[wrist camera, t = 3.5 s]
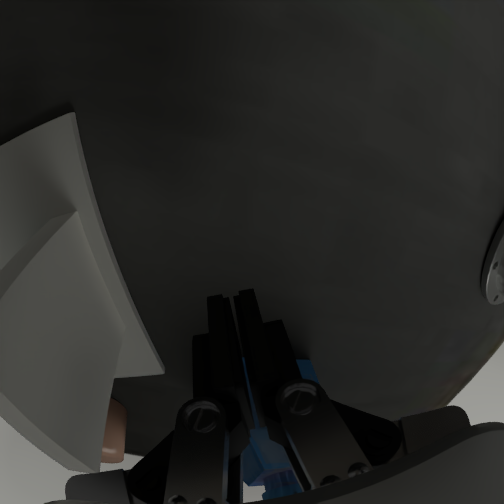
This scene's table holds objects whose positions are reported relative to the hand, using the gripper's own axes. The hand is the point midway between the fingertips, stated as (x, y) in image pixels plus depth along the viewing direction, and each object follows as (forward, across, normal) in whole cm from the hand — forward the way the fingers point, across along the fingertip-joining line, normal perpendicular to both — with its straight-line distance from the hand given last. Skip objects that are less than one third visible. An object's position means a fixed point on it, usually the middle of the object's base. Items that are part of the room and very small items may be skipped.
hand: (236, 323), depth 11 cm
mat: (+6, +13, 0) cm, 15 cm away
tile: (+6, +8, 0) cm, 10 cm away
